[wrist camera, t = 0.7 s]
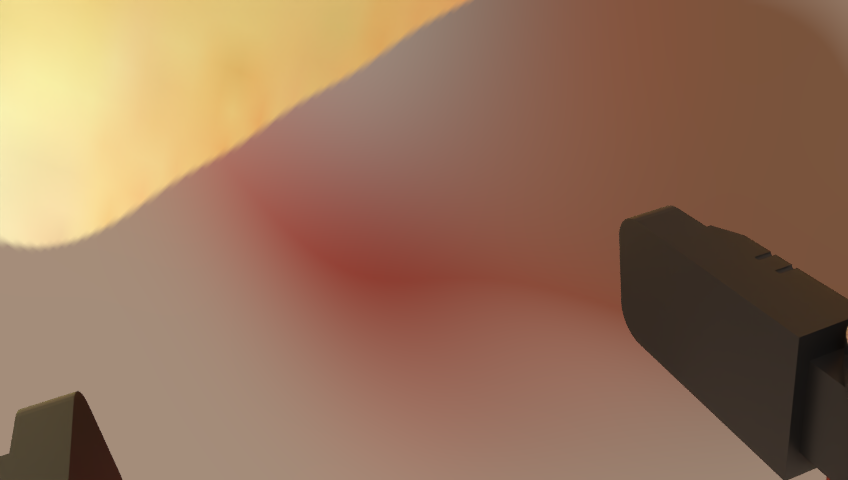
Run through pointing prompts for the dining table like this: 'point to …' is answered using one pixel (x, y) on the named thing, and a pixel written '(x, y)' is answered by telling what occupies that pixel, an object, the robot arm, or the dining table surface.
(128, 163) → the dining table surface
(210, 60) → the dining table surface
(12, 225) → the dining table surface
